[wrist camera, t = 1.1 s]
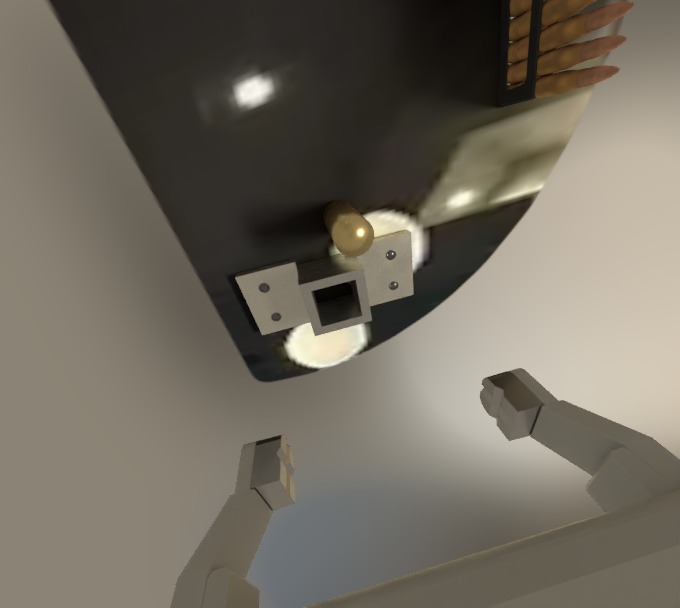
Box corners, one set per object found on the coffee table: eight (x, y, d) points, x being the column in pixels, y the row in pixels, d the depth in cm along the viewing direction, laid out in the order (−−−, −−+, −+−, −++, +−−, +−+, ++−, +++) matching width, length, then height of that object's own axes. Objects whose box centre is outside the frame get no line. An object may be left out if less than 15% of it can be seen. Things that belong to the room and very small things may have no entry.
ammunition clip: (512, 102, 30) (627, 81, 20) (497, 108, 30) (604, 90, 20) (520, -36, 24) (686, -164, 14) (501, -29, 24) (654, -151, 14)
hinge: (236, 273, 35) (228, 295, 30) (407, 229, 36) (427, 243, 31) (262, 330, 40) (259, 357, 35) (410, 290, 41) (427, 311, 36)
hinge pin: (320, 204, 32) (330, 222, 24) (351, 196, 32) (371, 212, 25) (327, 235, 34) (339, 261, 27) (356, 228, 34) (376, 251, 27)
